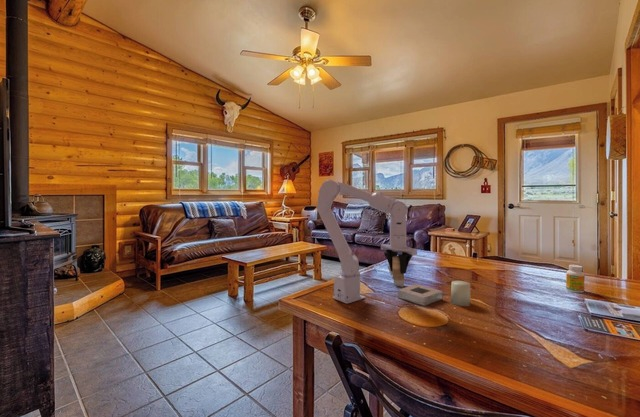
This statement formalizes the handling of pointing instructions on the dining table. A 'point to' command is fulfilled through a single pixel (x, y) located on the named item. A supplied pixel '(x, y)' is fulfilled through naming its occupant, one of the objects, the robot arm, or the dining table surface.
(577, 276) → the supplement bottle
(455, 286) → the pale green rounded block
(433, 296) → the beige square frame
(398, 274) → the oak peg
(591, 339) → the dining table surface
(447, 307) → the dining table surface
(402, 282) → the lighter
